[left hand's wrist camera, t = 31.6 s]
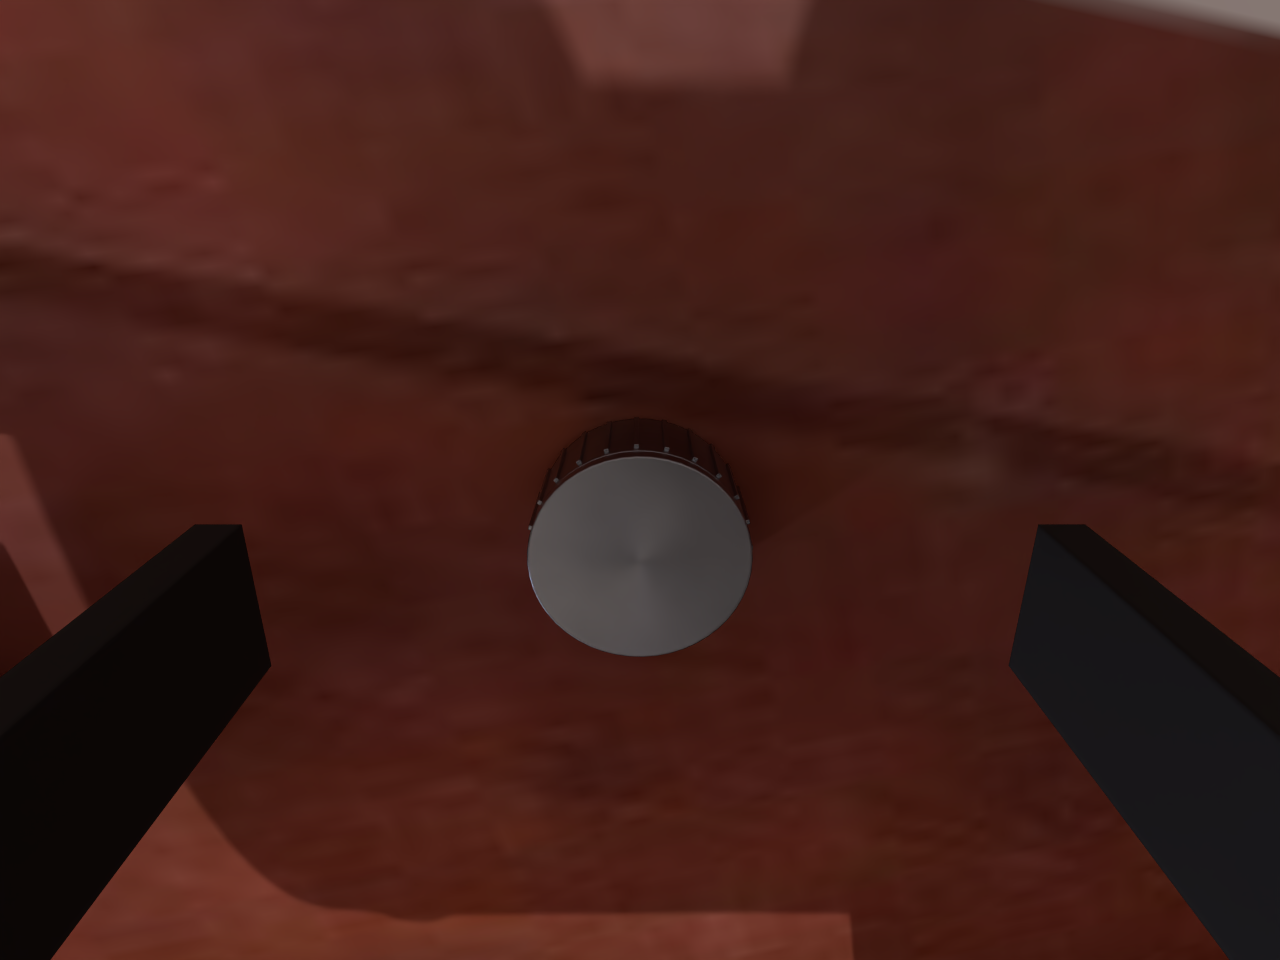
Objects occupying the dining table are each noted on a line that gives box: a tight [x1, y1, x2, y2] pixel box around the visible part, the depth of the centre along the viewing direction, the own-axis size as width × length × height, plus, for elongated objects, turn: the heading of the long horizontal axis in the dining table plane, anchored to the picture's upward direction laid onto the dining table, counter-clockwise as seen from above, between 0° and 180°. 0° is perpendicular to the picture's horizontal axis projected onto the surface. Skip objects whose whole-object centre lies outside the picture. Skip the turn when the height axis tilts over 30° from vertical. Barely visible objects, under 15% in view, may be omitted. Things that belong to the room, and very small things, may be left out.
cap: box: [527, 417, 753, 657], centre depth 15 cm, size 4×4×2 cm
